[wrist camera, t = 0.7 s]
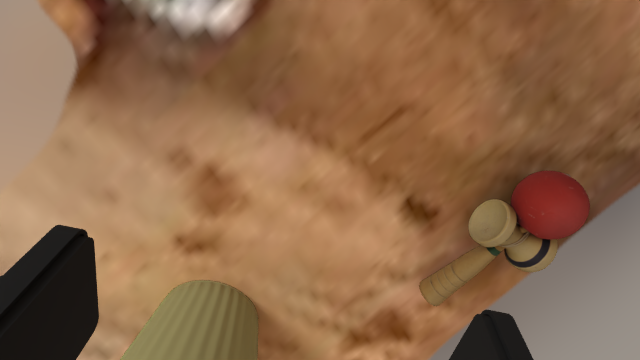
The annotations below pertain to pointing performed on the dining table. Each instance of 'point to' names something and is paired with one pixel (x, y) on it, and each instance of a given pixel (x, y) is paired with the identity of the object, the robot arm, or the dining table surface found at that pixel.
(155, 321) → the potted cactus
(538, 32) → the dining table surface
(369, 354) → the dining table surface
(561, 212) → the kendama
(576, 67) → the dining table surface
